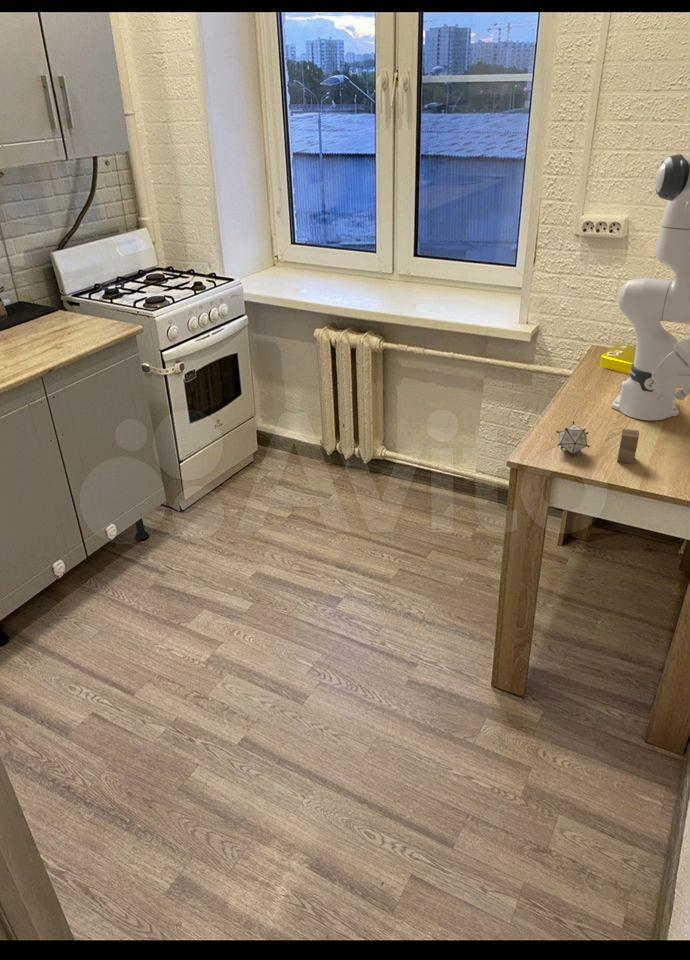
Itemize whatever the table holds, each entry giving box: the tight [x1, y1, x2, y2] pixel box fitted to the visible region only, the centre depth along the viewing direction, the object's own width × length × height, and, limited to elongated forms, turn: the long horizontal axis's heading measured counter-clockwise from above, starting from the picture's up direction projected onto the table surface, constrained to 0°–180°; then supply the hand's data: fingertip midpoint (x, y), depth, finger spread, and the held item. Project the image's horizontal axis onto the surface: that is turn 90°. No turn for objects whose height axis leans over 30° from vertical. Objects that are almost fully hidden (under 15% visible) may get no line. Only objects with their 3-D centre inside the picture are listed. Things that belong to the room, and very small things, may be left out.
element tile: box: [599, 344, 636, 375], centre depth 243 cm, size 15×15×5 cm
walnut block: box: [616, 428, 640, 465], centre depth 186 cm, size 4×4×8 cm
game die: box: [556, 420, 591, 458], centre depth 190 cm, size 9×8×10 cm
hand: (665, 397), depth 166 cm, fingers open, 8 cm apart
